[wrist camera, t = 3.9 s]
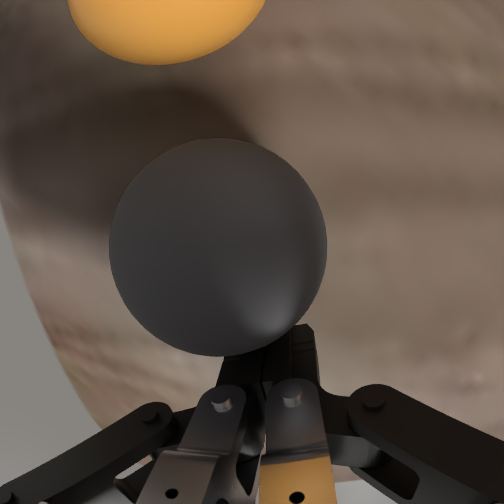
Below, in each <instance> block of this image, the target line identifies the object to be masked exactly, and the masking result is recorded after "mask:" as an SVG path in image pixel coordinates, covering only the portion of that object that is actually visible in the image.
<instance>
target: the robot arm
mask: <svg viewBox="0 0 504 504" xmlns="http://www.w3.org/2000/svg"><path fill="white" fill-rule="evenodd" d="M265 434H266V450H265V447H264V442H265ZM148 455H150V457H151V458H152V459H153V460H152V461H150V462H149V463H147V464H146V465H144V466H143V467H142V468H140V469H138V470H137V471H135V472H134V473H132V474H131V475H129V476H127V477H126V478H124V479H116V478H115V477H116V476H117V475H118V474H120V473H121V472H123V471H124V470H126V469H128V468H129V467H131V466H132V465H134V464H135V463H137V462H138V461H140V460H142V459H143V458H145V457H146V456H148ZM331 464H334V465H341V466H349V467H350V469H351V470H352V471H353V472H354V473H355V474H356V475H358V476H359V477H360V478H362V479H363V480H365V481H366V482H367V483H369V484H370V485H372V486H373V487H374V488H376V489H377V490H379V491H380V492H382V493H383V494H385V495H386V496H387V497H389V498H390V499H392V500H393V501H395V502H396V503H398V504H504V441H502V440H500V439H498V438H495V437H493V436H491V435H489V434H486V433H484V432H482V431H480V430H478V429H475V428H473V427H471V426H469V425H467V424H465V423H462V422H460V421H458V420H456V419H454V418H452V417H450V416H448V415H446V414H444V413H442V412H439V411H437V410H435V409H433V408H431V407H429V406H427V405H425V404H423V403H421V402H419V401H417V400H415V399H413V398H411V397H409V396H407V395H405V394H403V393H401V392H399V391H398V390H396V389H394V388H392V387H389V386H387V385H382V384H371V385H367V386H364V387H361V388H359V389H357V390H356V391H354V392H353V393H352V394H351V396H350V397H347V396H337V395H333V394H330V393H328V392H326V391H325V390H324V389H322V388H321V386H320V376H319V365H318V357H317V350H316V344H315V337H314V331H313V330H312V329H311V328H310V326H309V325H308V324H301V325H294V326H293V327H292V328H291V329H290V330H288V331H287V332H286V333H285V334H284V335H282V336H281V337H280V338H278V339H277V340H275V341H273V342H272V343H270V344H268V345H266V346H264V347H261V348H259V349H256V350H254V351H250V352H247V353H243V354H239V355H233V356H224V361H223V363H222V366H221V370H220V373H219V376H218V380H217V383H216V386H215V387H214V388H212V389H210V390H208V391H207V392H205V393H204V394H203V395H202V397H201V398H200V400H199V402H198V404H197V406H196V407H194V408H190V409H186V410H182V411H178V412H174V413H173V412H172V410H171V408H170V407H169V406H168V405H167V404H165V403H162V402H151V403H147V404H145V405H142V406H141V407H139V408H137V409H136V410H134V411H133V412H131V413H129V414H128V415H126V416H125V417H123V418H121V419H120V420H118V421H117V422H115V423H113V424H112V425H110V426H108V427H107V428H105V429H103V430H102V431H100V432H98V433H97V434H95V435H94V436H92V437H90V438H88V439H87V440H85V441H83V442H82V443H80V444H78V445H77V446H75V447H73V448H71V449H69V450H68V451H66V452H64V453H62V454H61V455H59V456H57V457H55V458H53V459H52V460H50V461H48V462H46V463H44V464H42V465H41V466H39V467H37V468H35V469H33V470H31V471H29V472H27V473H26V474H24V475H22V476H20V477H18V478H16V479H14V480H12V481H10V482H8V483H6V484H4V485H2V486H1V487H0V504H255V502H256V495H257V491H258V486H259V504H337V499H336V493H335V487H334V479H333V473H332V467H331Z"/></svg>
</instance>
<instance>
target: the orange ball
mask: <svg viewBox="0 0 504 504" xmlns="http://www.w3.org/2000/svg"><path fill="white" fill-rule="evenodd" d="M264 2H265V0H68V6H69V9H70V13H71V15H72V18H73V20H74V22H75V24H76V26H77V27H78V29H79V30H80V32H81V33H82V34H83V35H84V37H85V38H86V39H87V40H88V41H90V42H91V43H92V44H93V45H94V46H95V47H97V48H98V49H100V50H101V51H103V52H105V53H107V54H109V55H110V56H112V57H115V58H118V59H120V60H123V61H127V62H132V63H136V64H144V65H169V64H177V63H182V62H186V61H190V60H194V59H196V58H199V57H202V56H205V55H207V54H209V53H212V52H214V51H216V50H218V49H219V48H221V47H223V46H225V45H226V44H228V43H229V42H231V41H232V40H233V39H235V38H236V37H237V36H238V35H239V34H241V33H242V32H243V31H244V30H245V29H246V28H247V27H248V26H249V24H250V23H251V22H252V21H253V20H254V19H255V17H256V16H257V14H258V13H259V12H260V10H261V8H262V6H263V4H264Z"/></svg>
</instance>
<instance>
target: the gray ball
mask: <svg viewBox="0 0 504 504" xmlns="http://www.w3.org/2000/svg"><path fill="white" fill-rule="evenodd" d="M109 258H110V264H111V270H112V274H113V278H114V281H115V284H116V287H117V289H118V291H119V293H120V295H121V297H122V299H123V301H124V303H125V305H126V306H127V308H128V309H129V311H130V312H131V314H132V315H133V316H134V317H135V318H136V320H137V321H138V322H139V323H140V324H141V325H142V326H143V327H144V328H145V329H146V330H148V331H149V332H150V333H151V334H153V335H154V336H155V337H156V338H158V339H160V340H162V341H163V342H165V343H167V344H169V345H171V346H172V347H174V348H177V349H180V350H183V351H186V352H189V353H192V354H197V355H204V356H215V357H222V356H233V355H239V354H243V353H247V352H250V351H254V350H256V349H259V348H261V347H264V346H266V345H268V344H270V343H272V342H273V341H275V340H277V339H278V338H280V337H281V336H282V335H284V334H285V333H286V332H287V331H288V330H290V329H291V328H292V327H293V326H294V325H295V324H296V323H297V322H298V321H299V320H300V319H301V317H302V316H303V315H304V314H305V312H306V311H307V310H308V308H309V307H310V305H311V304H312V302H313V300H314V298H315V296H316V294H317V292H318V290H319V287H320V284H321V281H322V278H323V275H324V271H325V266H326V259H327V236H326V227H325V223H324V219H323V215H322V212H321V210H320V207H319V205H318V202H317V200H316V198H315V196H314V195H313V193H312V191H311V189H310V188H309V186H308V184H307V183H306V182H305V181H304V179H303V178H302V177H301V176H300V174H299V173H298V172H297V171H296V170H295V169H294V168H293V167H292V166H291V165H290V164H288V163H287V162H286V161H285V160H283V159H282V158H280V157H279V156H278V155H276V154H275V153H273V152H271V151H269V150H267V149H265V148H263V147H261V146H258V145H256V144H253V143H250V142H247V141H242V140H237V139H231V138H207V139H198V140H194V141H190V142H187V143H183V144H180V145H178V146H175V147H173V148H171V149H169V150H167V151H165V152H163V153H162V154H160V155H159V156H157V157H156V158H154V159H153V160H152V161H150V162H149V163H148V164H147V165H146V166H145V167H144V168H143V169H142V170H140V171H139V172H138V174H137V175H136V176H135V177H134V178H133V180H132V181H131V182H130V183H129V185H128V186H127V188H126V190H125V191H124V193H123V195H122V196H121V199H120V201H119V203H118V206H117V208H116V210H115V214H114V217H113V221H112V225H111V231H110V239H109Z"/></svg>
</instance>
